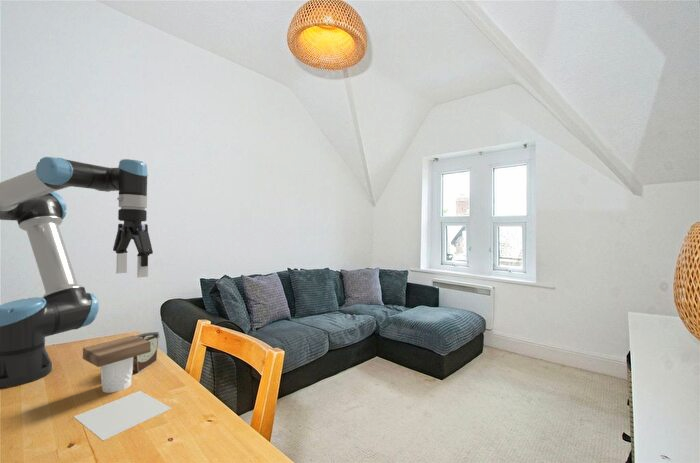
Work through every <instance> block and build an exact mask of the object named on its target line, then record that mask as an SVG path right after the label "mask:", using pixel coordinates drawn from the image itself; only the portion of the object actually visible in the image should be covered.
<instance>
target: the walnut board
mask: <svg viewBox="0 0 700 463" xmlns="http://www.w3.org/2000/svg"><path fill="white" fill-rule="evenodd" d="M150 345H151V342H150V341H147V340H145V339H142V338H139V337H137V336H136V335H130V336H126V337H122V338H119V339H118V338H117V339H114V340H110V341H106V342H103V343H98V344H93V345H90V346H89V345H88V346H86V347H83V348H82V360H84V361H85V362H88V363H90V364H92V365H94V366H96V367H97V368H101V366H105V365H108V364H111V363H115V362H118V361H121V360H125V359H128V358H131V357H135V356H138V355H141V354H145V353H148V352H150Z"/></svg>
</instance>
